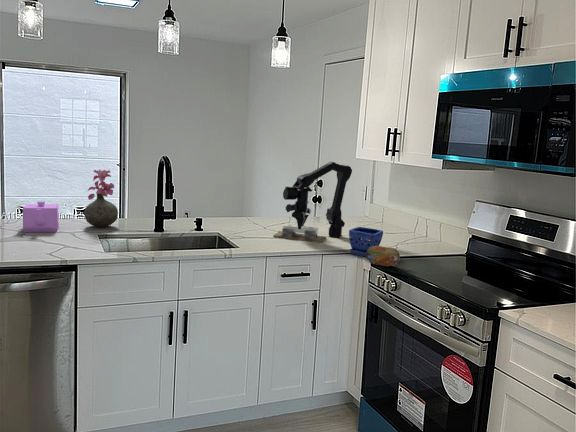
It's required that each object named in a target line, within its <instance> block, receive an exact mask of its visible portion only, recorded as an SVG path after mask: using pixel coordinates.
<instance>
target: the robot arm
mask: <svg viewBox="0 0 576 432" xmlns="http://www.w3.org/2000/svg"><path fill="white" fill-rule="evenodd" d="M331 171H334V172H336V179H337V180H336V186H335V190H334V196H333V198H332V203H331V204H332V205H331V207H330V208H327V209H326V214H325V217H326V220H327V221H328V225H330V227H328V237H329V236H331V237H330V238H337V237H341V236H342V237H343V227H345V225H346V224H345V222H344V220H343V219H342V216H343V215H342V214H343V213H342V209H341V207H342V203H343V200H344V194H345V189H346V186H347V182H348V181H349V179H350V178H351V176H352V174H353V169H352V167H351V166H350V165H345V164H339V163H336V162H335V161H328V162H327V163H325V164H324V165H321V166H320V167H318V168H316V169H315V170H312V171H311V172H308V173H303V174H300V175H299V176H297V178H296V181H295V182H294V183H293V185H292V186H285V187H284V190H283V192H282V197H283V200H285V201H286V200H289V201H290V200H293V201H295V202H294V203H293V204H290V203H289V204H286V206H285V210H286V213H290V212H291V218H294V219H295V220H296V224H297V226H298V229H301V227H302V226H305V223H306V222H307V219H308V218H309V216H310V214H311V212H312V211H311V209H310V207H308V204H309V201H308V199H309V192H313V189H311V187H310V186H311V185H312V184H313V183H314V182H315V181H316V180H317V179H319V178H321V177H323V176H324V175H327V174H328V173H329V172H331ZM342 237H341V238H342Z"/></svg>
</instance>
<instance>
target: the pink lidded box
mask: <svg viewBox="0 0 576 432" xmlns="http://www.w3.org/2000/svg"><path fill="white" fill-rule="evenodd" d="M59 206H60V205H59V204H58V203H46V201H43V200H39V201H37V202H36V203H25V205H24V206H23V207H22V232H24V233H25V232H27V233H28V232H29V233H30V232H31V233H32V232H35V233H36V232H40V233H41V232H47V233H48V232H49V233H50V232H51V233H52V232H53V233H54V232H55V233H56V232H58V230H59V224H60V223H59V221H60V219H59V218H60V217H59V214H60V213H59Z"/></svg>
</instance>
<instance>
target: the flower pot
mask: <svg viewBox="0 0 576 432" xmlns="http://www.w3.org/2000/svg"><path fill="white" fill-rule="evenodd" d="M383 235H384V230H381V229H376V228H370V227H363V226H357V227H353V228H351V229H349V230H348V241H349V245H350V248H349V253H351V254H353V255H355V256H356V255H358V256H362V257H366V252H367V250H368V249H369V248H370V247H371V246H381V241H382V238H383Z"/></svg>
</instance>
